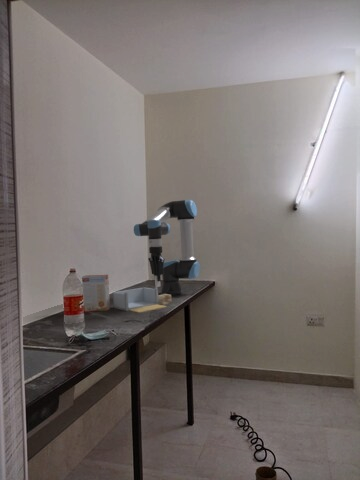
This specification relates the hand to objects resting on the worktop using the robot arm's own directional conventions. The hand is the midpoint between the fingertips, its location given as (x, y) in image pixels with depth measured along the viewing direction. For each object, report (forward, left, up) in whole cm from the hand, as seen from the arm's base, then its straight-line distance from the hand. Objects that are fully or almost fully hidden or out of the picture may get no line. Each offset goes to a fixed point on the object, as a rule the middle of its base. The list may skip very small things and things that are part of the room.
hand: (158, 286), depth 227 cm
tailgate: (+9, -3, -11) cm, 15 cm away
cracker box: (+29, -21, -13) cm, 38 cm away
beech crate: (-7, -4, -12) cm, 15 cm away
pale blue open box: (+9, -11, -12) cm, 19 cm away
